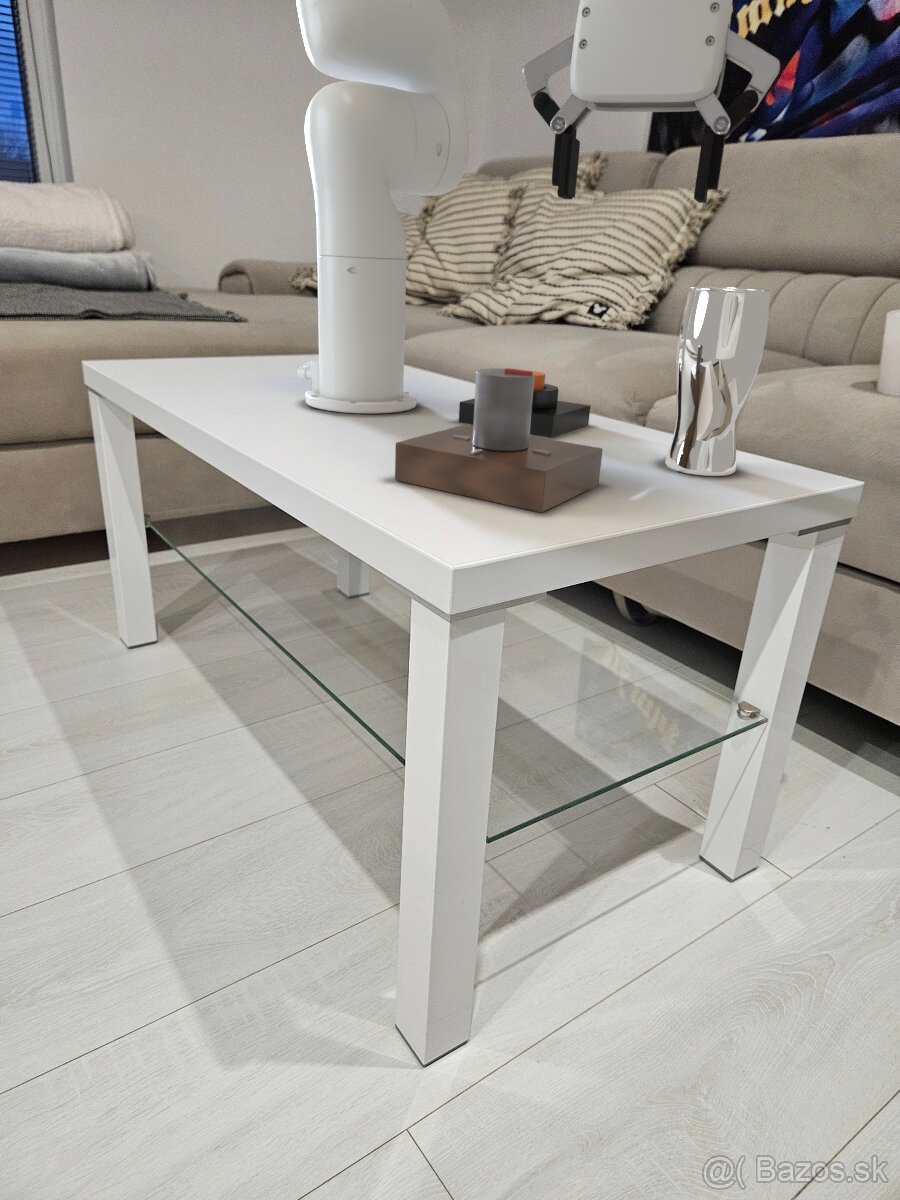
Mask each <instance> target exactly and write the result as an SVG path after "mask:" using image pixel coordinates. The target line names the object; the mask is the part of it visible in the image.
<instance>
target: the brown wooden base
mask: <svg viewBox="0 0 900 1200" xmlns="http://www.w3.org/2000/svg"><path fill="white" fill-rule="evenodd" d="M472 441H473V425H470V424H462V425H458V426H454V427H450V428H447V429H443V430H439V431H438V430H437V431H434V432H432V433H431V432H430V433H427V434H424V435H419V436H416V437H412V438H408V439H405V440H402V441H401V440H400V441H396V442H395V451H394V452H395V453H394V454H395V456H394V458H395V459H394V480H395V481H397V482H401V483H402V482H403V483H406V484H411V485H415V486H420V487H424V488H428V489H432V490H433V489H434V490H438V491H442V492H447V493H450V494H451V493H452V494H455V495H461V496H465V497H468V498H474V499H478V500H484V501H488V502H492V503H496V504H500V505H505V506H510V507H514V508H519V509H524V510H528V511H532V512H538V513H541V514H542V513H544V512H546V511H549V510H550V509H552V508H554V507H556V506H558V505H560V504H562V503H565V502H566V501H569V500H570V499H573V498H575V497H577V496H579V495H581V494H584V493H585V492H587V491H589V490H590V489H593V488H595V487H596V486H599V483H600V476H601V466H602V458H603V450H604V449H603V448H601V447H595V446H590V445H585V444H580V443H579V444H578V443H574V442H573V443H572V442H568V441H567V442H566V441H561V440H557V439H556V440H555V439H551V438H546V437H540V436H538V437H537V436H534V435H530V436H529V447H528V448H526V449H523V450H518V451H496V450H488V449H483V448H480V447H477V446H475V445H473V443H472Z"/></svg>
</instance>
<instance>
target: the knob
mask: <svg viewBox="0 0 900 1200" xmlns="http://www.w3.org/2000/svg"><path fill="white" fill-rule="evenodd" d="M533 371H534V370H527V369H526V370H525V369H518V368H509V367H506V368H497V367H496V368H481V369H478V370H476V372H475V389H474V391H475V392H474V399H475V405H474V423H473V424H472V426H473V441H472V443H473V445H475V446H477V447H480V448H483V449H488V450H496V451H518V450H523V449H526V448H528V447H529V436H531V434H530V425H531V413H532V401H533V389H534V377H535V374H534V373H533Z"/></svg>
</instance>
